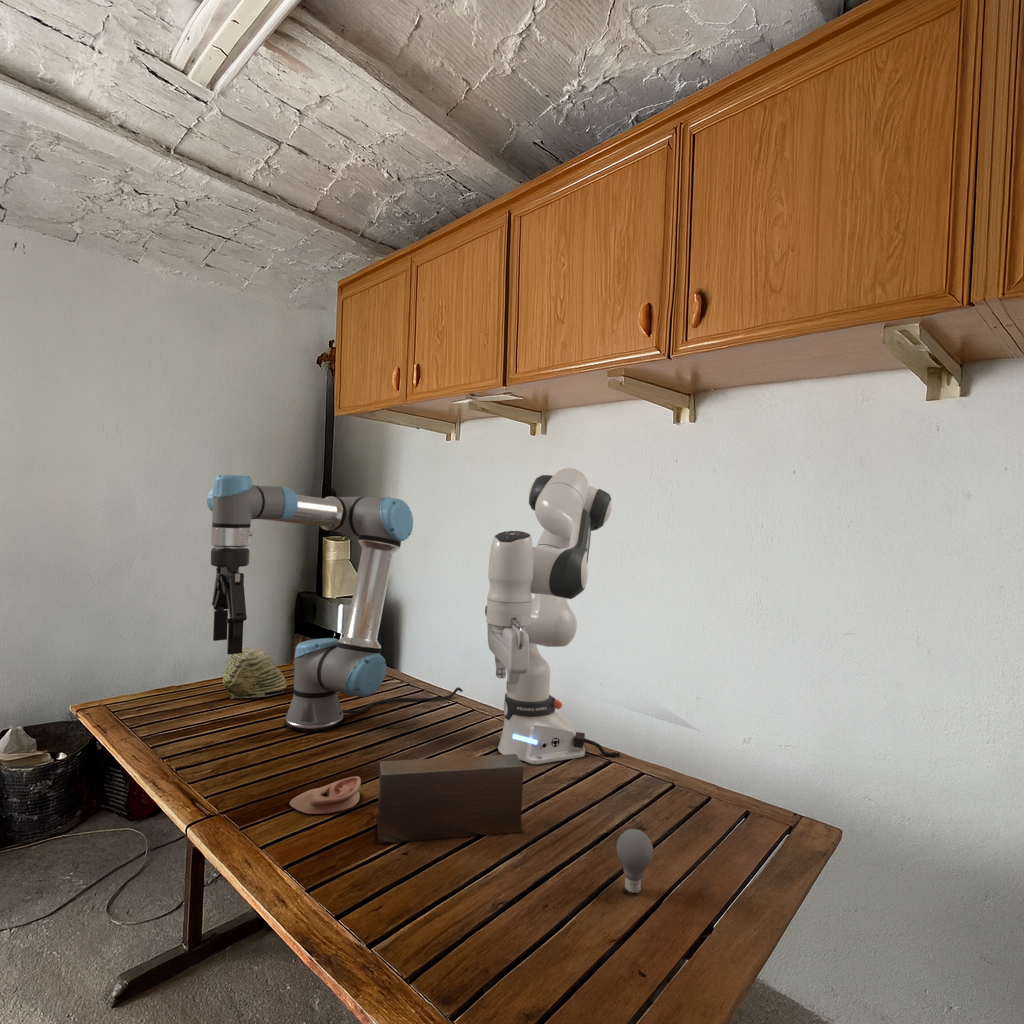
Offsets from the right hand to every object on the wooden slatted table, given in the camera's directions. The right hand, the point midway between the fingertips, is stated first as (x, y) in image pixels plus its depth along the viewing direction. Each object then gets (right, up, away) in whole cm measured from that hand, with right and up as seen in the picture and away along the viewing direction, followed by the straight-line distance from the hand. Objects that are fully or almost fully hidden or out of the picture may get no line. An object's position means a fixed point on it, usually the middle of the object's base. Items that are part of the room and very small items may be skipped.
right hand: (506, 684), depth 124 cm
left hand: (-60, +5, +11) cm, 61 cm away
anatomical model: (-38, -27, +7) cm, 46 cm away
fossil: (-79, -23, +74) cm, 111 cm away
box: (-11, -28, -2) cm, 30 cm away
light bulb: (+21, -30, -19) cm, 41 cm away
